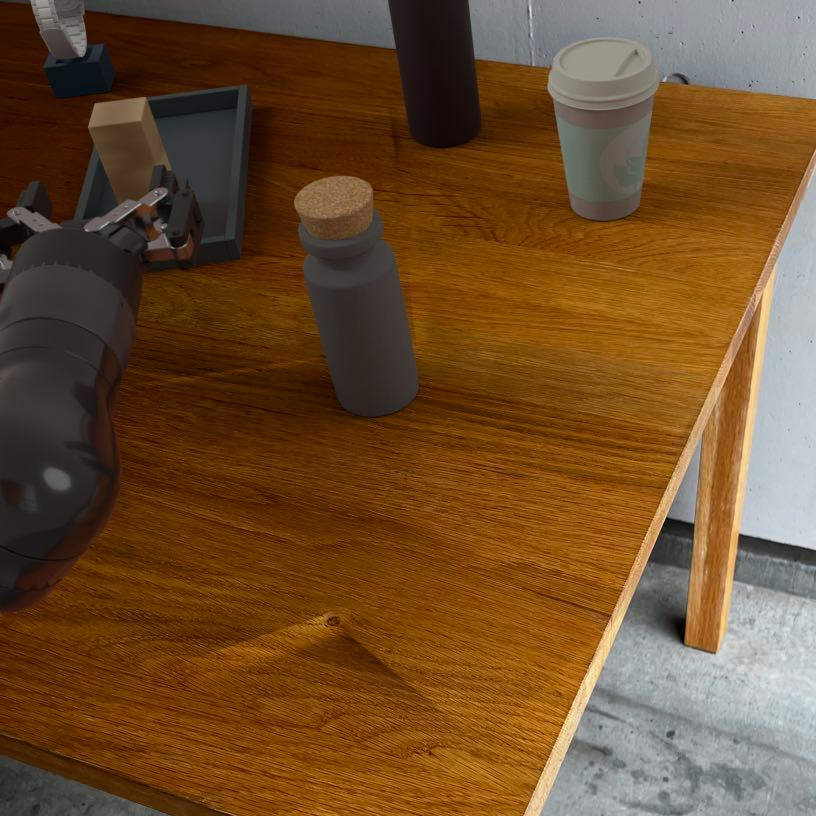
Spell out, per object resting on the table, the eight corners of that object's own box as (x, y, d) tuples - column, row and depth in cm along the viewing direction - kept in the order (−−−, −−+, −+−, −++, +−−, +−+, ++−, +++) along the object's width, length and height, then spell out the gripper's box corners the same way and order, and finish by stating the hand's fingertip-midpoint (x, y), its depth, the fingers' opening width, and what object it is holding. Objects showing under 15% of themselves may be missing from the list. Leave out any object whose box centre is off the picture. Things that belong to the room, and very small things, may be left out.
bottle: (406, 354, 76) (367, 161, 65) (430, 402, 72) (393, 206, 61) (328, 377, 75) (274, 184, 64) (348, 427, 71) (295, 232, 60)
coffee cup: (596, 243, 84) (593, 96, 75) (534, 200, 89) (523, 57, 80) (678, 204, 87) (684, 58, 78) (613, 165, 92) (611, 23, 83)
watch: (118, 65, 112) (77, -47, 104) (107, 99, 107) (63, -15, 98) (65, 71, 112) (20, -40, 104) (51, 106, 106) (3, -8, 98)
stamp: (127, 262, 85) (76, 141, 78) (137, 210, 91) (91, 92, 83) (188, 253, 86) (144, 132, 78) (195, 202, 91) (155, 83, 83)
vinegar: (497, 126, 98) (473, -116, 83) (444, 156, 95) (409, -91, 80) (447, 106, 101) (416, -131, 86) (394, 134, 98) (353, -107, 83)
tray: (73, 288, 84) (61, 262, 83) (114, 126, 103) (105, 102, 101) (242, 264, 85) (234, 238, 83) (254, 108, 103) (247, 83, 102)
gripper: (166, 250, 61) (187, 120, 72) (-84, 285, 60) (-24, 148, 71) (205, 353, 67) (219, 218, 77) (-23, 386, 66) (23, 245, 77)
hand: (103, 184), depth 74 cm, fingers open, 8 cm apart
